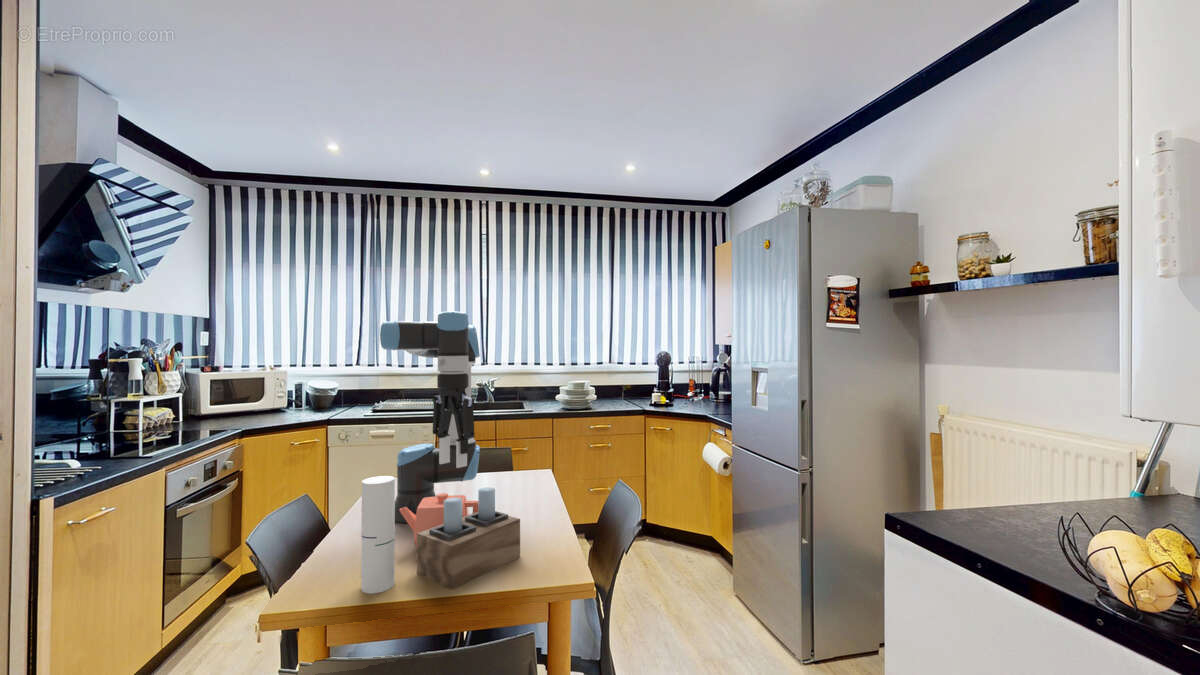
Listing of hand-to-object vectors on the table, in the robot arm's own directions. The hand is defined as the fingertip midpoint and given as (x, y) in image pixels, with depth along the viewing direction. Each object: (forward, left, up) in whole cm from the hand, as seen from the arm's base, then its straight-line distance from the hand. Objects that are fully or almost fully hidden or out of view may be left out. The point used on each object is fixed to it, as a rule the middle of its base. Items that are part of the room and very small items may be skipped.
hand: (453, 464), depth 122 cm
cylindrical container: (-9, -14, -27) cm, 32 cm away
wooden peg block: (0, +6, -27) cm, 27 cm away
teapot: (-18, +10, -27) cm, 34 cm away
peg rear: (0, +11, -18) cm, 21 cm away
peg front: (0, 0, -18) cm, 18 cm away
